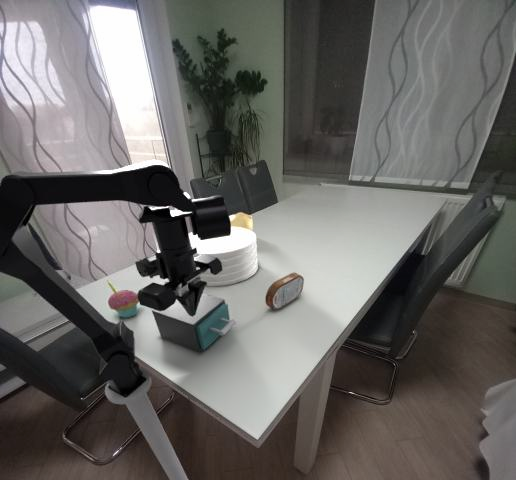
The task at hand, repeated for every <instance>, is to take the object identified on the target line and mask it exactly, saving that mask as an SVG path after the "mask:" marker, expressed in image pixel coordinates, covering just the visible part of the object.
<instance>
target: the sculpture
mask: <svg viewBox="0 0 516 480" xmlns="http://www.w3.org/2000/svg"><path fill="white" fill-rule="evenodd" d="M228 217H229V218H230V222H231V227H241V228H245V229H249V230H251V231H253V229H254V221H253V216H252V215H249V214H247V213H244V212H242V211H240V212H237V213H234V214H231V215H228Z"/></svg>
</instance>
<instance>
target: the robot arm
mask: <svg viewBox="0 0 516 480" xmlns="http://www.w3.org/2000/svg"><path fill="white" fill-rule="evenodd" d="M115 201H119V202H128V203H133V204H137V205H142V206H143V207H142V210H141V212H139V214H138V222H139V223H140V224H148V223H149V224H150V223H151V225H152V228H153V233H154V236H155V240H156V242H157V246H158V250H156V251H155V257H152V258H150V259H148V258H147V257H143V258H140V259H138V260H136V261H135V262H134V263H135V267H136V271H137V273H138V274H139V276H140V277H142V278H147V277H149V279H153V278H154V277H158V276H159V279H161V280H166V279H167V280H168V281H166V282H167V283H166V284H165V283H164V284H160V283H156V282H154V281H153V282H151V283H149V284H148V285H146V286H144V287H142V288H141V289H139V290H138V292H137V293H136V294H137V297H138V300H139V302H138V303H139V304H140V306H142V307H146V308H149V309H152V310H154V309H155V310H158V311H164V310H166V309H167V308H169V307H170V306H172V305H173V304H175V301H176V299H177V300H178V301H179V303H180V304H181V305H182V306H183V308H184V309H185V310H186V312H187V313H188V314H189V315H190V316H192V317H193V316H194V315H195V314H196V311H197V308H198V304H199V301H200V298H201V295H202V293H203V294H204V290H205V287H207V286H206V285H207V282H205V281H201V278H200V275H201V274H203V273H204V272H206V271H207V270H208V269H210V272H211V273H212V274H213V275H217V274H218V273H219V272H221V271H222V263H221V261H220V260H219V259H218V258H217V257H212V256H207V255H202V254H201V255H200V256H198V257H196V258H194V257H193V255H194V254H196V253H197V248H196V247H192V246H191V242H190V238H189V233H190V232H189V229H188V225H187V219H186V218H188V222H189V223H188V224H189V227H190V231H191V232H192V234H193V236H194V235H197V236H198V238H199V239H200V240H207V239H213V238H219V237H225V236H230V234H231V222H230V218H229V211H228V208H227V206H226V202H225V197H224V196H222V194H216V195H212V196H210V197H204V198H196V199H192V197H191V195H189V193H188V192H185V191H184V190H183V189H182V188H181V185H180V181H179V178H178V177H177V174H176V173H175V172H174V170H173V169H172V168H171V167H170V166H169V165H168V164H167V163H166V162H164V161H161V160H157V159H152V160H147V161H143V162H139V163H138V162H137V163H134V164H131V165H127V166H124V167H120V168H116V169H112V170H109V169H107V170H79V171H78V170H77V171H46V172H45V171H44V172H43V171H42V172H41V171H40V172H27V171H25V170H24V171H23V170H17V171H13V172H11V173H9V174H6V175H5V176H3V177H2V178H1V180H0V273H1V274H4V275H6V276H9V277H12V278H15V279H17V280H19V281H21V282H23V283H25V284H26V286H28V287H29V288H30V289H31V290H33V291H34V292H35V293H36V294H37V295H39V297H41V298H42V299H43V300H45V302H47V304H49V305H50V306H52V308H54V309H55V310H56V311H57V312H58V313H59V314H61V315H62V316H63V317H64V318H65V319H66V320H68V321H69V322H70V323H71V324H72V325H73V326H75V328H77V329H78V330H80V331H81V332H82V333H83V334H84V335H85V336H86V337H88V338H89V340H90V341H91V343H92V345H93V347H94V349H95V351H96V353H97V355H98V356H99V358H100V367H99V373H98V377H99V378H101V379H102V380H103V381H104V382H107V383H109V386H108V388H109V389H110V390H112V391H114V392H115V393H117V394H119V395H121V396H123V397H124V398H126V397H128V396H129V395H130V394H131V393H133V392H134V391H135V390H136V389H137V388H138V387H140V386H141V385H142V384H143V383H144V382H145V381H146V380H147V378H146V377H144V376H142V371H141V369H142V368H141V367H140V365H139V363H138V361H136V360H135V359H136V339H135V334H134V331H133V330H132V329H130V328H129V327H128V326H127V324H125V322H124V321H123V320H120V321H118V322H117V323H115V322H111V321H109V320H107V319H106V318H105V317H104V315H102V314H101V313H100V312H99V311H98V310H97V309H96V308H95V307H94V306H93V305H92V304H91V303H90V302H89V301H88V300H87V299H86V298H85V297H84V296H83V295H81V293H79V291H77V290H76V288H74V287H73V286H72V285H71V284H70V282H68V281H67V280H66V279H65V278H64V277H63V276H62V275H61V274H60V273H59V272H58V271H57V270H56V269H55V268H54V267H53V266H52V265H51V264H50V263H49V262H48V261H47V259H46V256H45V255H44V253H43V251H42V249H41V247H40V245H39V243H38V241H37V240H36V239H35V237H34V236H33V235H32V234H31V233H30V231H29V230H28V228H27V226H28V224H29V222H30V220H31V219H32V217H33V214H34V213H35V210H36V207H37V206H48V205H63V204H79V203H80V204H82V203H96V202H97V203H98V202H115ZM153 207H154V208H153ZM170 207H172V208H174V209H176V210H171V208H170ZM144 379H145V380H144Z"/></svg>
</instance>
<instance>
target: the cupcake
mask: <svg viewBox="0 0 516 480" xmlns="http://www.w3.org/2000/svg"><path fill="white" fill-rule="evenodd" d="M106 282H107V284H108V286H109V287H110V289H111V290H112V292H113V294H111V295H110V296H109V298H108V300H107V304H108V307H109V308H110V309H111V310H114V311H116V312H117V313H118V315H119V316H120V317H122V318H131V317H133V316H135V315H136V314H137V312H138V303H139V300H138V297H137V293H136V292H135V291H133V290H129V289H122V290H119V291H117V290H116V288H114V286H113V284H112V283H111V281H109V280H107V279H106Z"/></svg>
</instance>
